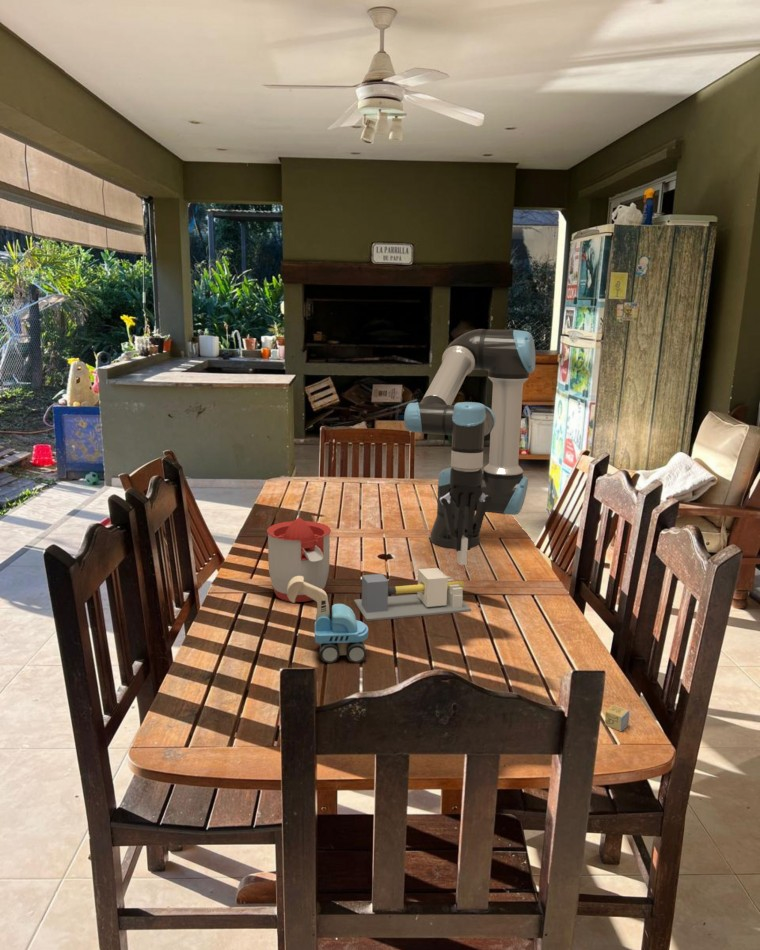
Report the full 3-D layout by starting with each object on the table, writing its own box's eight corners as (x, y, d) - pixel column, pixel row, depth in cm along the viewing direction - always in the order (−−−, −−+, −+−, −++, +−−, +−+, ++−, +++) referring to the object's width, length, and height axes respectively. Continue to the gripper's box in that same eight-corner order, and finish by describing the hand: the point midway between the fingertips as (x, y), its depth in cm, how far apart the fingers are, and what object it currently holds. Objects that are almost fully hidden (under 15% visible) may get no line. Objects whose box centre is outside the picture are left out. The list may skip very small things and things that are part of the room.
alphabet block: (621, 732, 131) (622, 716, 130) (604, 725, 133) (605, 710, 132) (628, 725, 133) (630, 710, 133) (611, 719, 135) (613, 703, 135)
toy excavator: (288, 646, 161) (287, 569, 157) (366, 644, 162) (367, 569, 159) (286, 664, 153) (286, 585, 149) (369, 663, 154) (370, 584, 150)
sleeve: (436, 594, 188) (437, 567, 187) (446, 605, 182) (447, 577, 180) (417, 596, 187) (418, 569, 186) (426, 607, 181) (427, 579, 179)
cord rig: (453, 592, 192) (454, 562, 191) (471, 611, 181) (473, 579, 179) (354, 601, 185) (354, 570, 184) (366, 621, 174) (367, 588, 172)
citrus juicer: (287, 614, 177) (286, 532, 173) (257, 590, 192) (256, 514, 187) (345, 601, 185) (346, 523, 181) (312, 579, 200) (312, 506, 195)
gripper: (485, 464, 184) (480, 556, 189) (435, 465, 181) (431, 559, 186) (498, 470, 177) (492, 566, 182) (446, 472, 174) (441, 569, 179)
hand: (461, 562), depth 184 cm, fingers closed
